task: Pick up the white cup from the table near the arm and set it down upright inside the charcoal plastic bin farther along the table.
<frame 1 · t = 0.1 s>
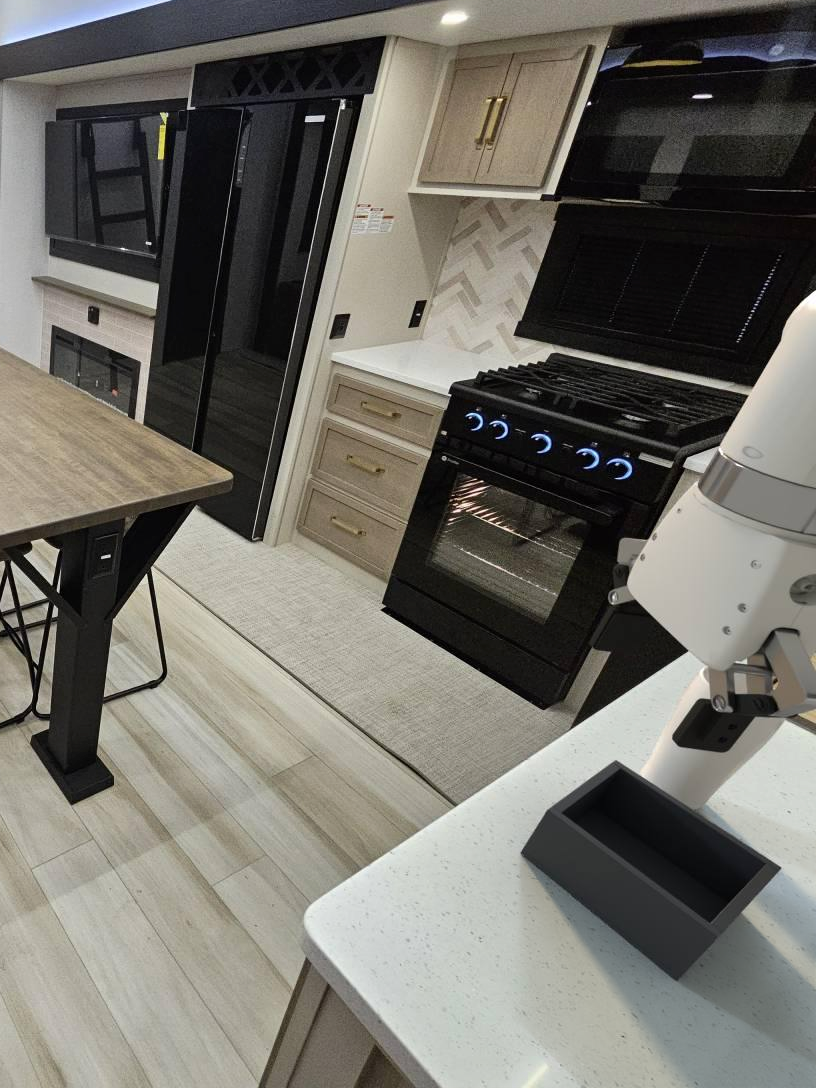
hand: (650, 694, 51), 25 cm above the worktop, tool pointing down, fingers open, 9 cm apart
bin: (626, 881, 64), on the worktop
white cup: (667, 792, 73), on the worktop
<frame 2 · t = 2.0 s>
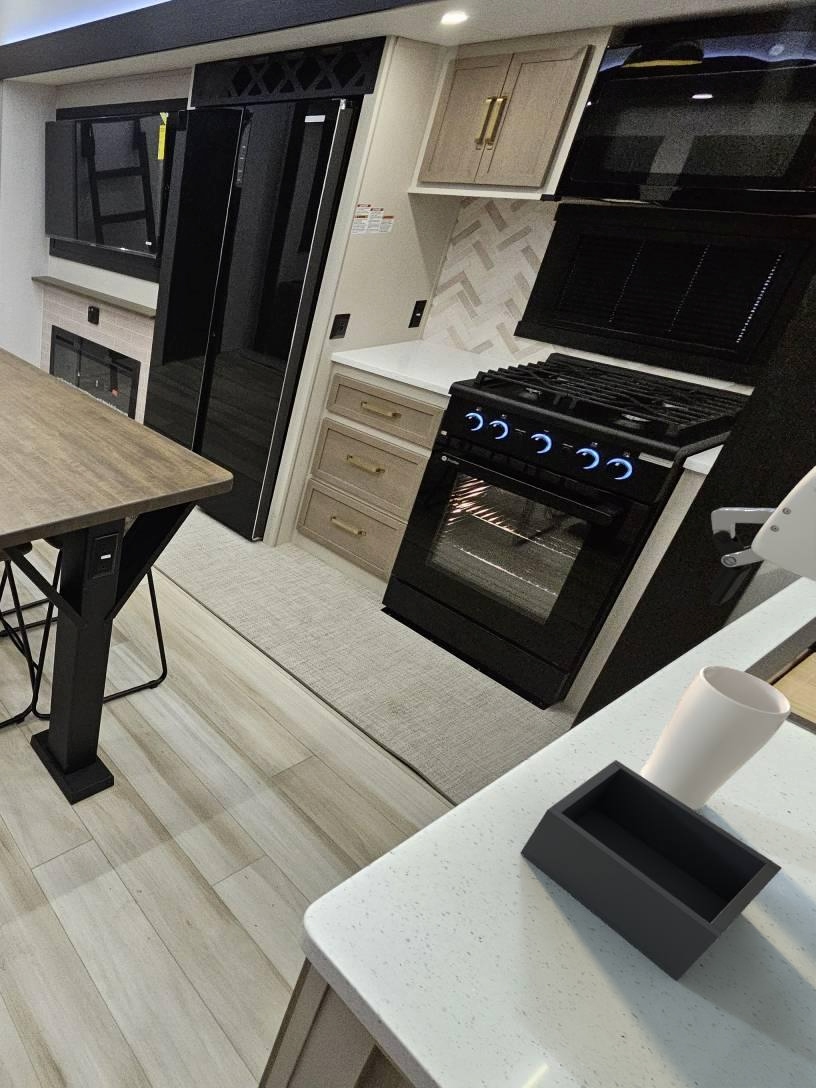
hand: (785, 630, 63), 22 cm above the worktop, tool pointing down, fingers open, 9 cm apart
nothing on the worktop moved.
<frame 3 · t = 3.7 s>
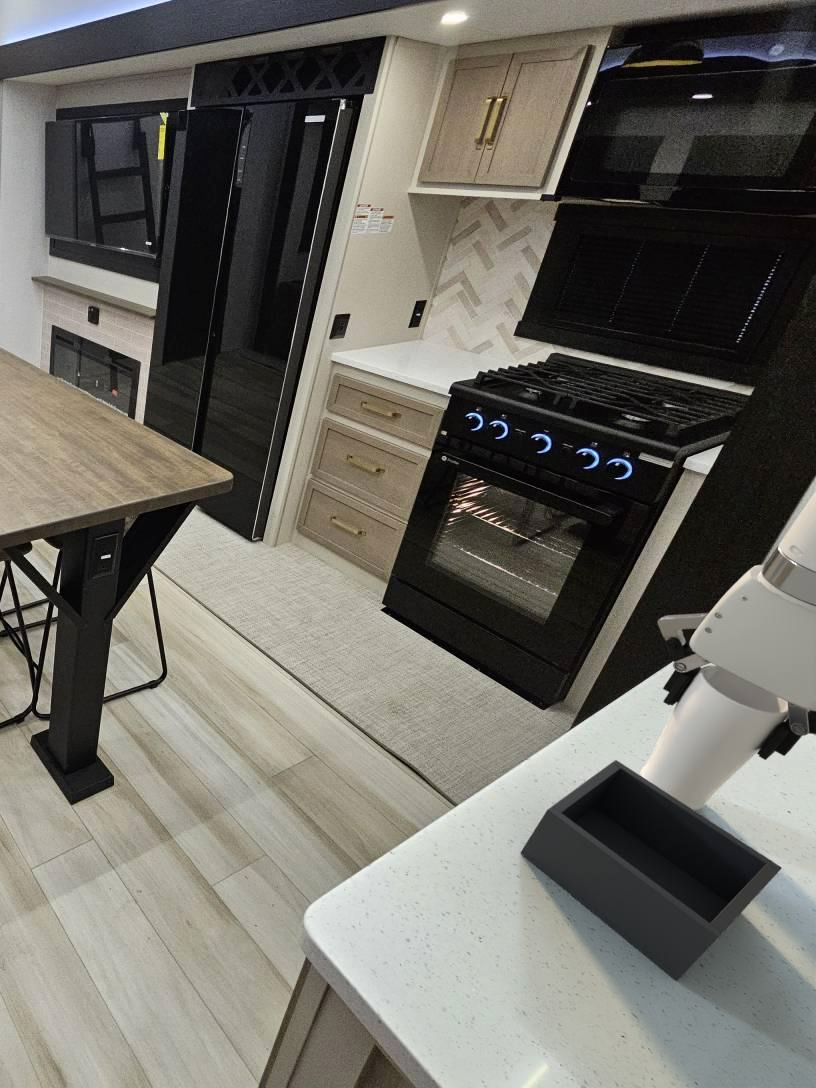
hand: (718, 724, 68), 10 cm above the worktop, tool pointing down, fingers closed on white cup, 6 cm apart
white cup: (667, 792, 73), on the worktop, touching gripper
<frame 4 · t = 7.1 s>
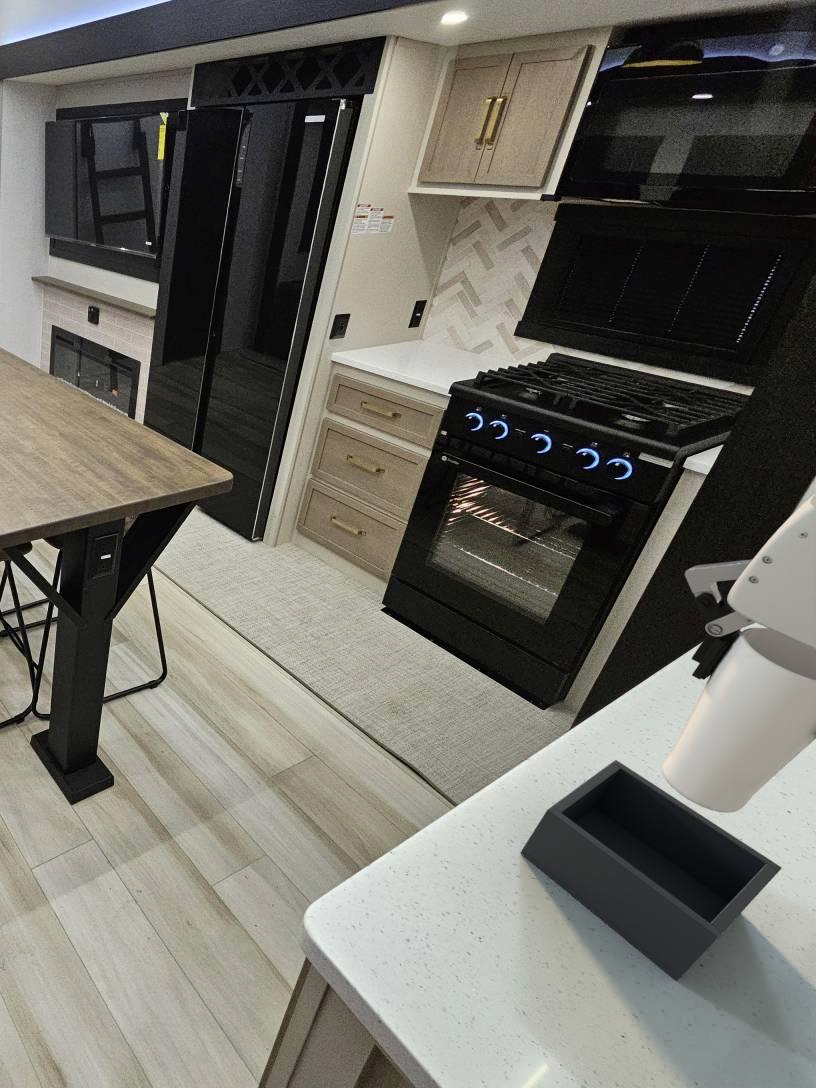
hand: (764, 702, 53), 23 cm above the worktop, tool pointing down, fingers closed on white cup, 6 cm apart
white cup: (696, 789, 58), point 13 cm above the worktop, touching gripper
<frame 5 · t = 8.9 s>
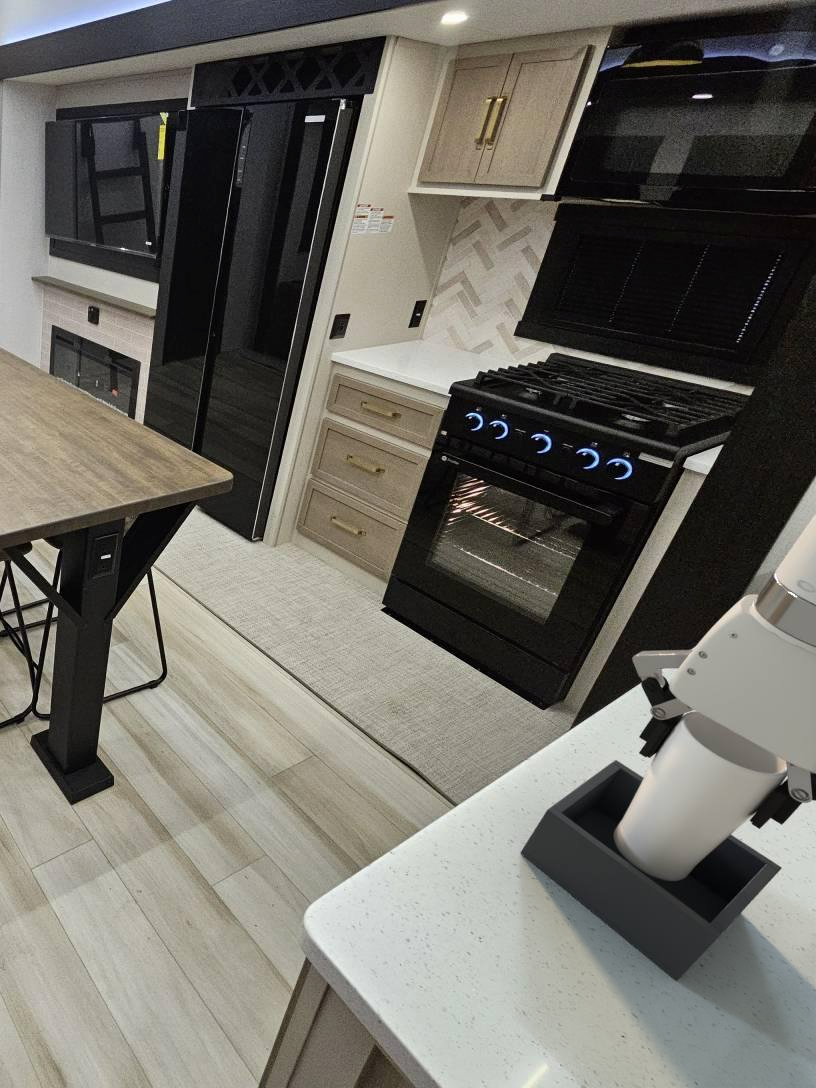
hand: (704, 781, 58), 14 cm above the worktop, tool pointing down, fingers closed on white cup, 6 cm apart
white cup: (645, 857, 62), point 4 cm above the worktop, touching gripper
when the fingers open (11 cm above the worktop, at t = 10.4 s): white cup stays where it is, resting on bin.
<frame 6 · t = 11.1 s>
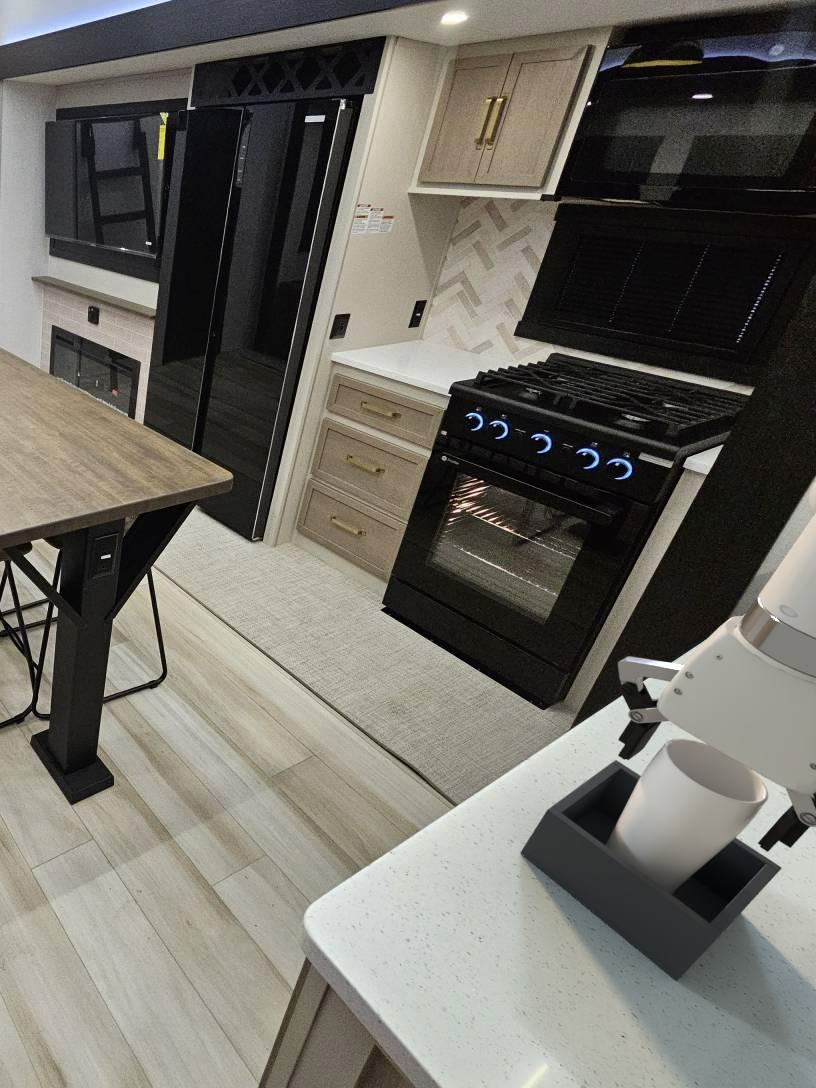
hand: (695, 794, 58), 12 cm above the worktop, tool pointing down, fingers open, 9 cm apart
white cup: (629, 878, 64), resting on bin
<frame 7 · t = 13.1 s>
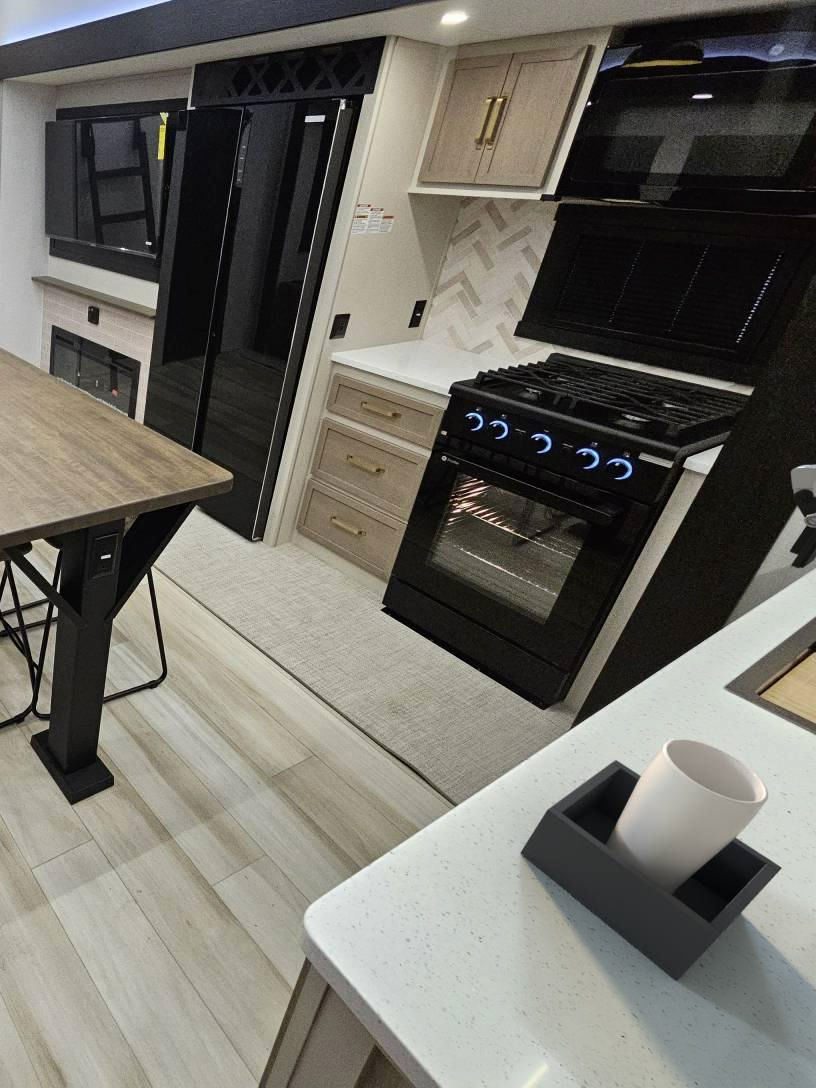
nothing on the worktop moved.
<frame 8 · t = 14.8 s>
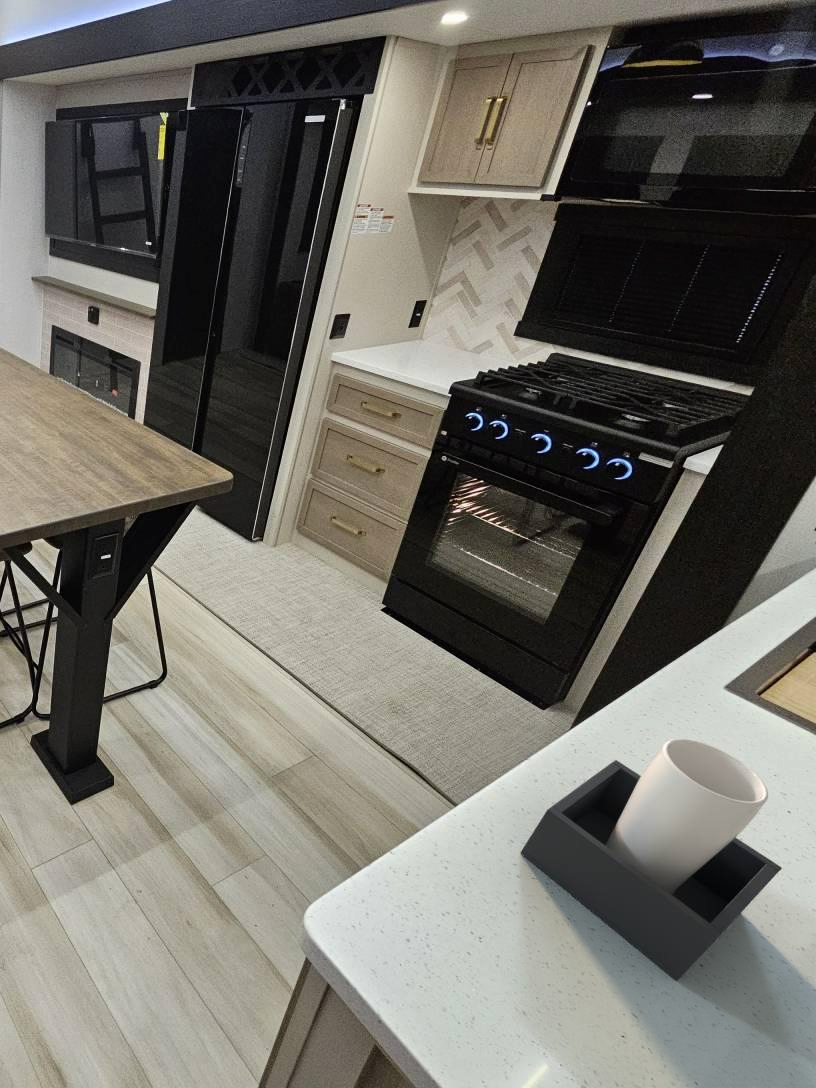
nothing on the worktop moved.
at the end: white cup inside the target area in the bin (0.1 cm from its centre), point 0.4 cm above the bin's base; white cup tilted 0°; the gripper is holding nothing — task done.
